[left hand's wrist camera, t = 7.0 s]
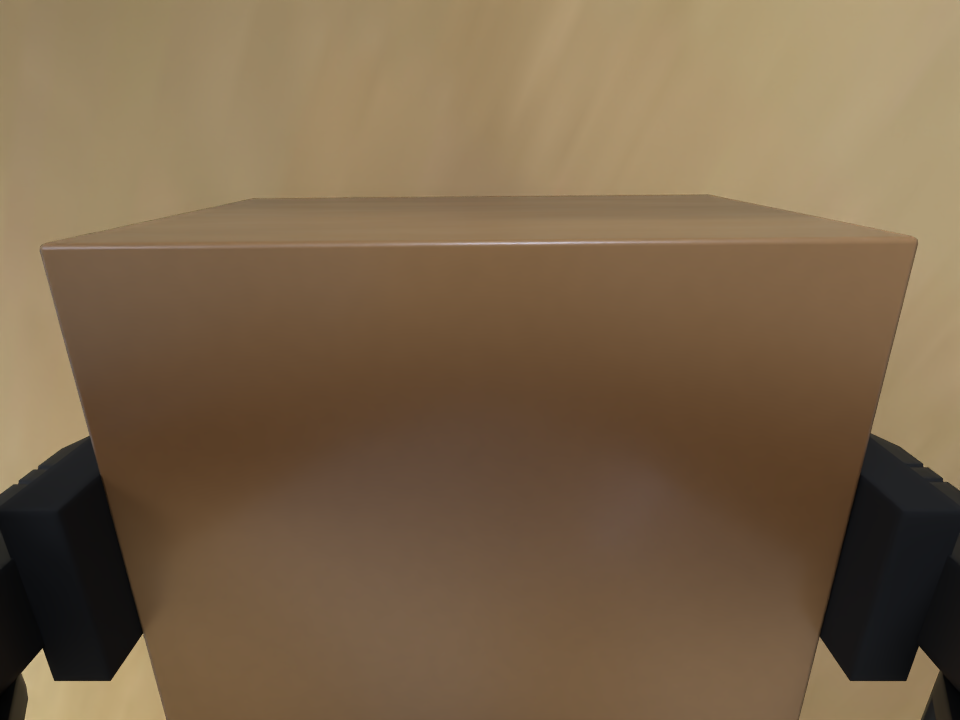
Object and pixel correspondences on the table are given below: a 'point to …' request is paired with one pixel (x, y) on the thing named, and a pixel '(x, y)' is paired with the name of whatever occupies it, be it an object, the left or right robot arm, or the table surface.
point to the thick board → (481, 448)
